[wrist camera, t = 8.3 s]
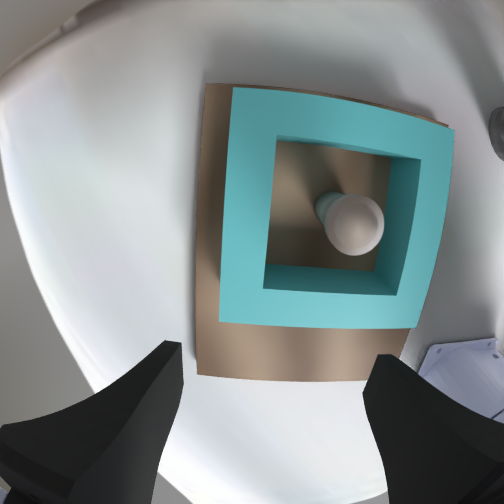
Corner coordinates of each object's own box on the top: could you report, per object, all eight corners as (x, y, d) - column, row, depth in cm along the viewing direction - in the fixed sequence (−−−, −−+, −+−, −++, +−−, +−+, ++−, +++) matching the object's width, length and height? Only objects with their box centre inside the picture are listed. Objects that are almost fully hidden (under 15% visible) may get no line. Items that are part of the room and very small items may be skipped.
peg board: (438, 126, 15) (493, 121, 10) (385, 369, 21) (410, 417, 16) (209, 88, 15) (188, 58, 10) (199, 364, 21) (185, 419, 16)
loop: (421, 132, 15) (454, 130, 11) (393, 301, 18) (415, 327, 15) (238, 102, 15) (233, 87, 11) (225, 291, 18) (218, 321, 14)
